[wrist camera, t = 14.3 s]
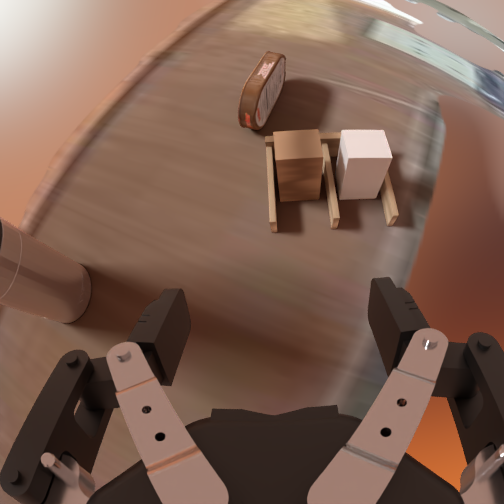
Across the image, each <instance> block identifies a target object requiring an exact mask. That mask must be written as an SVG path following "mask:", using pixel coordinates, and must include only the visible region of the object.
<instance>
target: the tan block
mask: <svg viewBox="0 0 504 504" xmlns="http://www.w3.org/2000/svg"><path fill="white" fill-rule="evenodd" d="M273 135H274V147H275V159H276V168H277V177H278V186H279V194H280V202H284V201H299V200H315V199H319V195H320V186H321V177H322V167H323V152H322V146H321V141H320V136H319V131H318V129H311V130H294V131H279V132H273Z"/></svg>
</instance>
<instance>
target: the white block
mask: <svg viewBox="0 0 504 504" xmlns="http://www.w3.org/2000/svg"><path fill="white" fill-rule="evenodd" d="M391 161H392V154H391V151H390V148H389V145H388V142H387V139H386V136H385V133H384V130H342V132H341V139H340V146H339V152H338V158H337V165H336V171H335V178H336V183H337V189H338V195H339V200H347V199H374V198H376V197H377V194H378V192H379V190H380V187H381V185H382V183H383V180H384V178H385V175H386V173H387V170H388V168H389V166H390V163H391Z"/></svg>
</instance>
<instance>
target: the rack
mask: <svg viewBox="0 0 504 504" xmlns="http://www.w3.org/2000/svg"><path fill="white" fill-rule="evenodd" d="M319 136H320V141H321V146H322V152H323V174H324V180H325V187H326V193H327V200H328V208H329V215H330V223H331V229H337V226H338V222H339V219H340V216H339V209H338V203H337V196H336V190H335V184H334V178H333V172H332V167H331V161H330V157H335V156H338V152H339V146H340V139H341V133H319ZM265 143H266V153H267V173H268V194H269V216H270V226H271V231H272V232H277V214H276V197H275V180H274V164H273V160H276V159H275V147H274V136H265ZM380 194H381V199H382V203H383V208H384V213H385V218H386V223H387V226H392V225H393V224H394V222H395V220H396V219H397V217H398V216H399V214H398V210H397V205H396V201H395V197H394V193H393V189H392V185H391V181H390V177H389V174H388V170H387V173H386V175H385V178H384V180H383V183H382V185H381V187H380Z"/></svg>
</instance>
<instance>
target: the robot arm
mask: <svg viewBox="0 0 504 504" xmlns="http://www.w3.org/2000/svg"><path fill="white" fill-rule="evenodd" d="M90 295H91V281H90V277H89V274H88V272H87V270H86V269H85V268H84V267H83V266H82V265H80V264H79V263H77V262H75V261H73V260H71V259H70V258H68V257H66V256H65V255H63V254H61V253H59V252H58V251H56V250H54V249H52V248H51V247H49V246H47V245H45V244H44V243H42V242H40V241H39V240H37V239H35V238H34V237H32V236H30V235H29V234H27V233H25V232H24V231H22V230H20V229H19V228H17V227H16V226H14V225H12V224H11V223H9V222H7V221H6V220H4V219H3V218H1V217H0V304H1V305H4V306H7V307H10V308H13V309H17V310H20V311H23V312H26V313H30V314H33V315H36V316H40V317H43V318H46V319H50V320H54V321H57V322H61V323H71V322H73V321H75V320H77V319H78V318H79V317H80V316H81V315H82V314H83V313H84V311H85V309H86V308H87V306H88V303H89V300H90ZM368 320H369V324H370V327H371V329H372V332H373V335H374V337H375V340H376V343H377V346H378V349H379V351H380V354H381V357H382V360H383V363H384V366H385V369H386V372H387V375H388V379H387V381H386V383H385V385H384V386H383V388H382V390H381V392H380V393H379V395H378V397H377V398H376V400H375V402H374V403H373V405H372V406H371V408H370V410H369V411H368V413H367V414H366V416H365V417H364V419H363V420H361V419H358V418H356V417H353V416H349V415H345V414H338V408H337V405H332V406H321V407H307V408H303V409H299V410H295V411H292V412H288V413H284V414H279V415H267V414H262V413H257V412H252V411H247V410H243V409H212V413H211V417H209V418H204V419H201V420H198V421H195V422H193V423H191V424H188V425H187V426H185V427H184V425H183V424H182V422H181V420H180V419H179V417H178V415H177V414H176V412H175V410H174V408H173V407H172V405H171V403H170V402H169V400H168V398H167V396H166V395H165V393H164V391H163V389H162V387H161V385H164V386H171V385H172V382H173V379H174V376H175V373H176V370H177V367H178V364H179V361H180V358H181V356H182V353H183V350H184V347H185V344H186V341H187V338H188V335H189V332H190V328H191V321H190V315H189V312H188V308H187V304H186V300H185V296H184V292H183V290H182V289H164V291H163V292H162V294H161V296H160V298H159V300H154V301H153V302H152V303H150V304H149V305H148V306H147V307H146V308H145V310H144V311H143V313H142V316H141V317H140V318H139V320H138V323H137V324H136V325H135V327H134V329H133V331H132V332H131V334H130V336H129V338H128V340H127V341H126V342H123V343H120V344H117V345H115V346H114V347H113V348H111V349H110V350H109V352H108V353H107V356H106V357H102V358H96V359H90V358H89V356H88V354H87V353H86V352H85V351H83V350H73V351H70V352H68V353H66V354H65V355H64V356H63V357H62V358H61V359H60V360H59V362H58V364H57V365H56V367H55V369H54V370H53V372H52V374H51V375H50V377H49V379H48V381H47V382H46V384H45V386H44V387H43V389H42V391H41V393H40V394H39V396H38V398H37V400H36V402H35V403H34V405H33V407H32V409H31V411H30V413H29V415H28V416H27V418H26V420H25V422H24V424H23V426H22V428H21V430H20V432H19V434H18V436H17V438H16V440H15V442H14V444H13V446H12V448H11V450H10V453H9V455H8V457H7V459H6V461H5V463H4V466H3V468H2V470H1V473H0V484H1V487H2V489H3V490H4V491H5V492H6V493H7V494H8V495H10V496H11V497H13V498H14V499H16V500H17V501H18V502H20V503H21V504H504V352H503V350H502V349H501V347H500V345H499V343H498V342H497V341H496V339H495V338H494V337H492V336H491V335H489V334H486V333H481V332H478V333H474V334H472V335H471V336H470V337H469V338H468V341H467V343H454V342H448V340H447V338H446V336H445V335H444V334H443V333H441V332H440V331H438V330H435V329H431V328H430V326H429V325H428V323H427V321H426V319H425V318H424V316H423V314H422V313H421V311H420V310H419V309H418V306H417V304H416V303H415V301H414V299H413V298H412V296H411V295H410V293H408V292H407V291H406V290H404V289H403V288H396V287H395V285H394V283H393V281H392V280H391V278H390V277H384V278H373V279H372V281H371V288H370V297H369V305H368ZM431 396H435V397H447V400H448V403H449V406H450V409H451V412H452V415H453V418H454V421H455V424H456V427H457V430H458V434H459V437H460V440H461V444H462V447H463V451H464V454H465V458H466V462H467V467H466V468H465V469H464V470H463V472H462V475H461V479H460V483H461V488H460V492H458V490H456V489H455V488H454V487H453V486H452V485H451V484H449V483H448V482H446V481H445V480H444V479H442V478H441V477H439V476H438V475H436V474H435V473H434V472H432V471H431V470H429V469H428V468H427V467H425V466H424V465H422V464H421V463H420V462H418V461H417V460H416V459H414V458H413V457H412V456H410V455H409V454H407V453H406V452H405V451H406V450H407V448H408V445H409V443H410V442H411V440H412V437H413V435H414V433H415V431H416V429H417V427H418V425H419V423H420V420H421V418H422V416H423V414H424V411H425V409H426V407H427V404H428V402H429V399H430V397H431ZM78 400H80V401H81V402H80V405H79V407H78V409H77V411H76V413H75V416H74V409H75V407H76V405H77V402H78ZM119 407H120V408H121V411H122V413H123V416H124V418H125V421H126V423H127V426H128V428H129V431H130V433H131V435H132V438H133V440H134V442H135V445H136V447H137V449H138V451H139V454H140V456H141V458H142V459H141V460H140V461H138V462H137V463H136V464H134V465H133V466H132V467H130V468H129V469H127V470H126V471H125V472H123V473H122V474H120V475H119V476H117V477H116V478H115V479H113V480H112V481H110V482H109V483H107V484H106V485H104V486H103V487H101V488H100V489H98V490H97V491H96V492H95V482H94V479H93V477H92V476H91V472H92V469H93V466H94V462H95V459H96V456H97V454H98V451H99V448H100V445H101V442H102V439H103V436H104V433H105V431H106V428H107V425H108V422H109V420H110V417H111V414H112V411H113V409H114V408H119Z"/></svg>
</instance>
